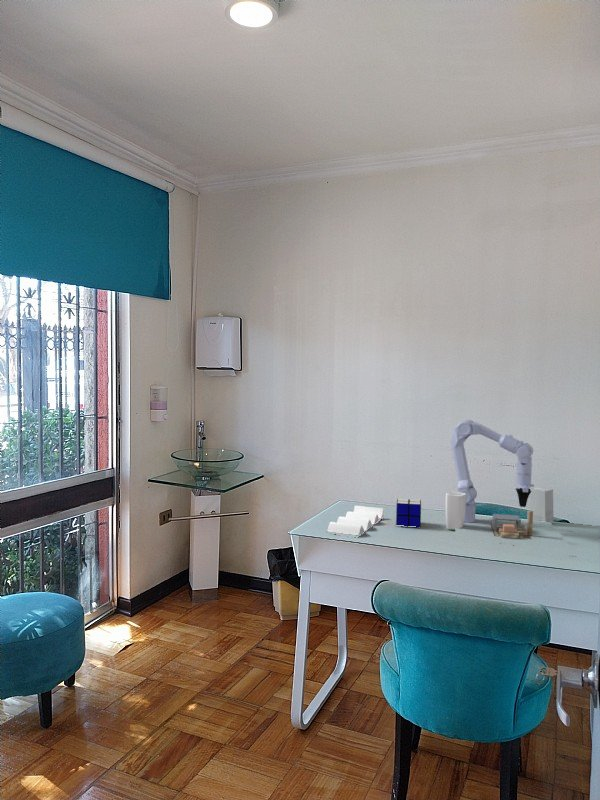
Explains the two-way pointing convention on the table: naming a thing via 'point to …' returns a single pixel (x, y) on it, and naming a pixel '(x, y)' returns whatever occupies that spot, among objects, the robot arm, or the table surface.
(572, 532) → the table surface
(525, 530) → the deck
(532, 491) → the skincare box
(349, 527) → the white ridged rack
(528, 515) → the slider
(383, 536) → the table surface
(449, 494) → the cup
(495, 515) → the tunnel
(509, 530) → the block
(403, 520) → the puzzle cube
